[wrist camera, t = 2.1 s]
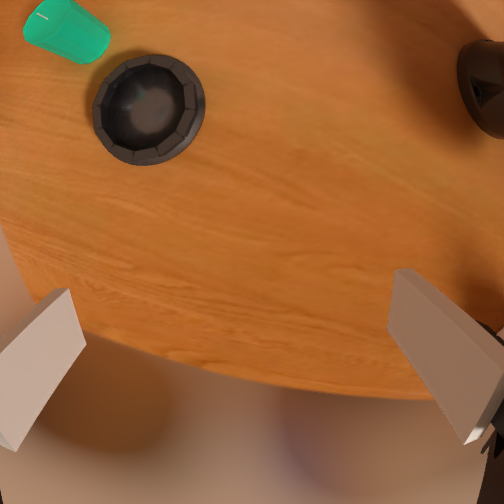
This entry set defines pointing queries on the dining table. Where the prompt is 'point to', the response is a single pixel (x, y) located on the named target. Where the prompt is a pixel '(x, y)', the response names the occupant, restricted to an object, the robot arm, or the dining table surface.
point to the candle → (67, 31)
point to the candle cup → (149, 110)
